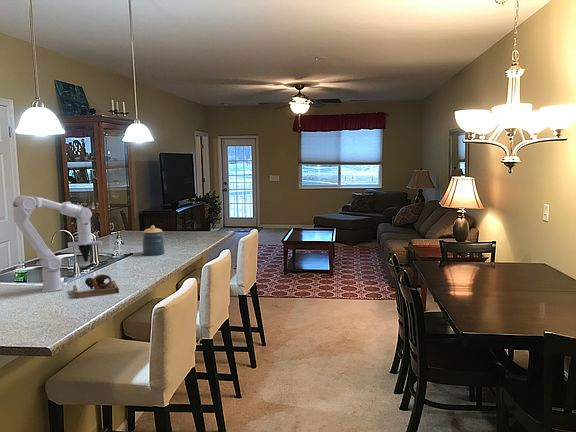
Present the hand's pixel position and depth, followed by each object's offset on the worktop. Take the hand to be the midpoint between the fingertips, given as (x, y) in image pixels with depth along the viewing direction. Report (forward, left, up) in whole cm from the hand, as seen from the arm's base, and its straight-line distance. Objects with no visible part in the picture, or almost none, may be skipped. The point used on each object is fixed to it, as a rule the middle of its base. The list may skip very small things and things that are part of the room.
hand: (86, 261), depth 229 cm
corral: (+18, +2, -10) cm, 21 cm away
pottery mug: (+18, +4, -11) cm, 21 cm away
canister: (-55, +42, -11) cm, 70 cm away
